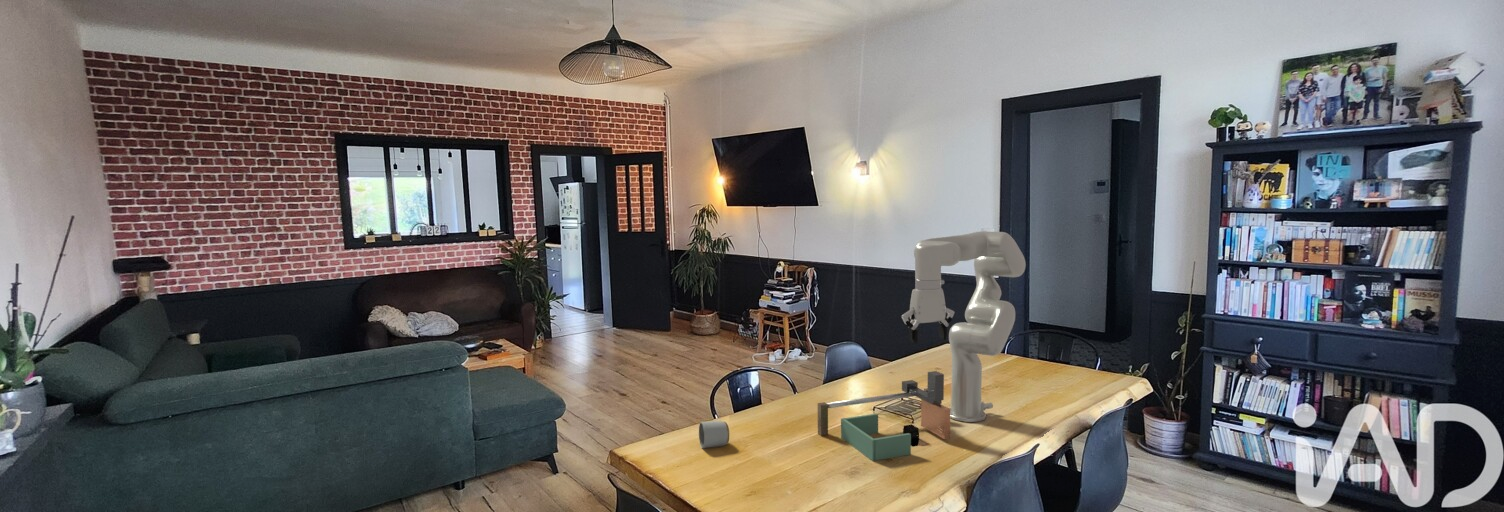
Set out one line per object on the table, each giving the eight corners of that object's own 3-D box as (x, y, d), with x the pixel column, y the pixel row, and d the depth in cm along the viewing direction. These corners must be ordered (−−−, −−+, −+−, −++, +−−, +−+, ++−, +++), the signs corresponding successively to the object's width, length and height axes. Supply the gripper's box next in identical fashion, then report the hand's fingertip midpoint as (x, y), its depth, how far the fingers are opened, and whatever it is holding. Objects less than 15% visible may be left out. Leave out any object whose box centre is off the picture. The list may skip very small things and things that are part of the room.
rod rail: (929, 416, 215) (930, 388, 214) (934, 418, 213) (934, 389, 212) (817, 433, 201) (817, 403, 201) (821, 436, 199) (820, 405, 198)
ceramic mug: (731, 448, 191) (730, 423, 190) (704, 452, 188) (703, 426, 188) (721, 436, 201) (720, 412, 200) (695, 440, 198) (695, 415, 198)
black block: (933, 447, 191) (933, 432, 190) (912, 451, 188) (913, 435, 188) (908, 432, 202) (908, 418, 202) (888, 436, 200) (888, 422, 199)
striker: (912, 415, 213) (912, 360, 211) (952, 437, 193) (953, 377, 191) (901, 416, 212) (902, 361, 210) (941, 439, 192) (942, 379, 190)
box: (876, 432, 202) (876, 413, 201) (910, 454, 184) (910, 434, 184) (841, 437, 198) (840, 418, 197) (872, 461, 180) (872, 440, 179)
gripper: (946, 281, 199) (946, 335, 201) (896, 285, 195) (896, 340, 197) (960, 284, 192) (960, 340, 194) (908, 288, 188) (908, 345, 190)
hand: (928, 340), depth 196 cm, fingers open, 9 cm apart
